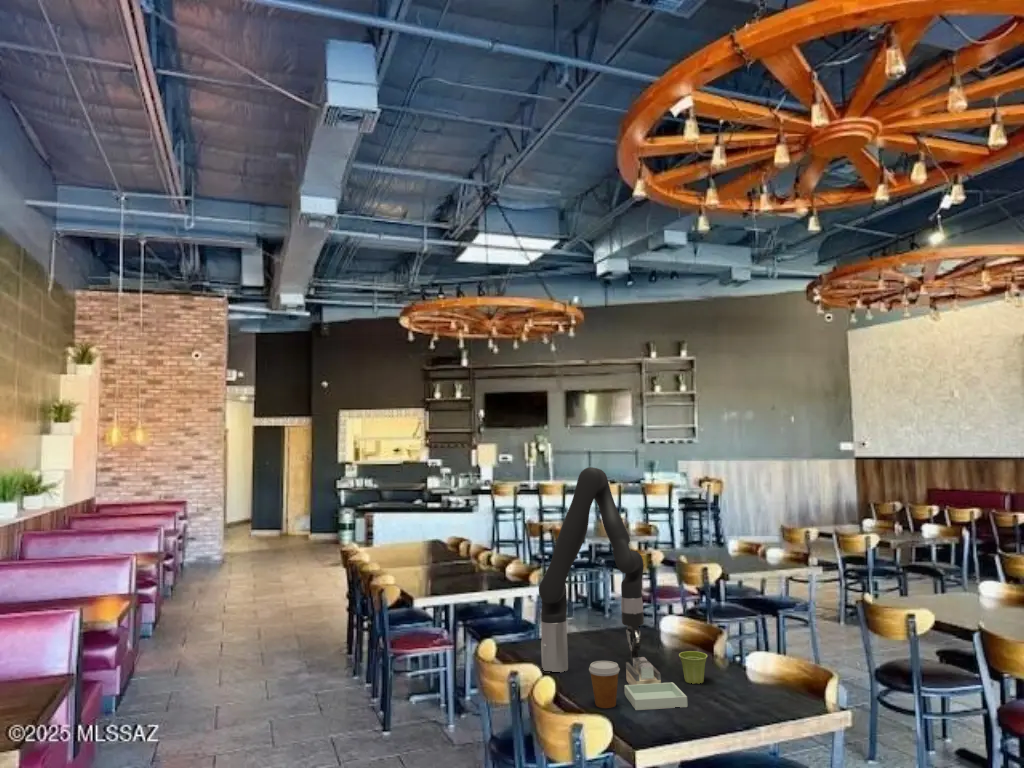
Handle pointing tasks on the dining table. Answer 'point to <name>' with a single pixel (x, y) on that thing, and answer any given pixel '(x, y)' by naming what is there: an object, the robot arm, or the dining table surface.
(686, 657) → the plant pot
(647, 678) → the pale grey cube
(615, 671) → the disposable coffee cup
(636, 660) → the light grey cube
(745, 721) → the dining table surface
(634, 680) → the slot board
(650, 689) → the tray
